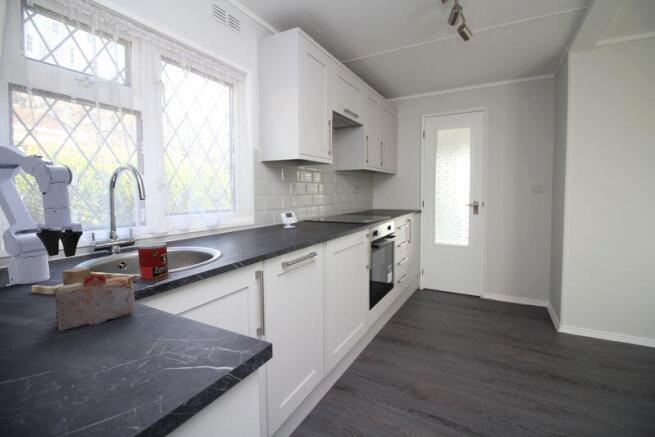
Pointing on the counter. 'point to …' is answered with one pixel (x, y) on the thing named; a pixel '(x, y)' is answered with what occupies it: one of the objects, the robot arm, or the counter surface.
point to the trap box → (107, 275)
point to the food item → (93, 301)
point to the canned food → (153, 260)
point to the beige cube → (75, 275)
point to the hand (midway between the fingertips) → (62, 255)
